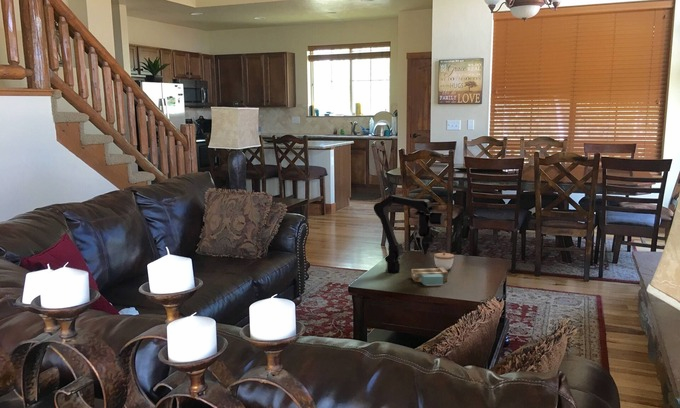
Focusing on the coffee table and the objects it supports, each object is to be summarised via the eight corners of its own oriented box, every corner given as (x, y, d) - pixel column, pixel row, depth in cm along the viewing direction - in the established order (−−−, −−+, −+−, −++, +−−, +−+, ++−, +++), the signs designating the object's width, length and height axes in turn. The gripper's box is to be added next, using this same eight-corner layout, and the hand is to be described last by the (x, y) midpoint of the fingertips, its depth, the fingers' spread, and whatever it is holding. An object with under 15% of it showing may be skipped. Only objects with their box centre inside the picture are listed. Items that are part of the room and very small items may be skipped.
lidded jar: (453, 271, 310) (453, 255, 309) (433, 270, 312) (434, 253, 311) (453, 266, 320) (454, 250, 319) (434, 265, 323) (434, 249, 321)
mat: (425, 285, 284) (425, 284, 284) (423, 282, 289) (423, 282, 289) (443, 285, 285) (443, 284, 285) (440, 282, 290) (440, 281, 290)
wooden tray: (415, 281, 290) (415, 272, 289) (411, 277, 298) (411, 268, 298) (447, 281, 292) (447, 271, 291) (442, 276, 300) (443, 267, 299)
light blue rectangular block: (423, 284, 284) (423, 277, 283) (421, 282, 288) (421, 274, 288) (442, 284, 285) (443, 276, 285) (440, 281, 290) (440, 274, 289)
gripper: (443, 226, 288) (442, 256, 291) (433, 220, 306) (432, 248, 309) (422, 227, 287) (421, 256, 289) (413, 220, 305) (412, 248, 308)
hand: (422, 252), depth 299 cm, fingers open, 9 cm apart
